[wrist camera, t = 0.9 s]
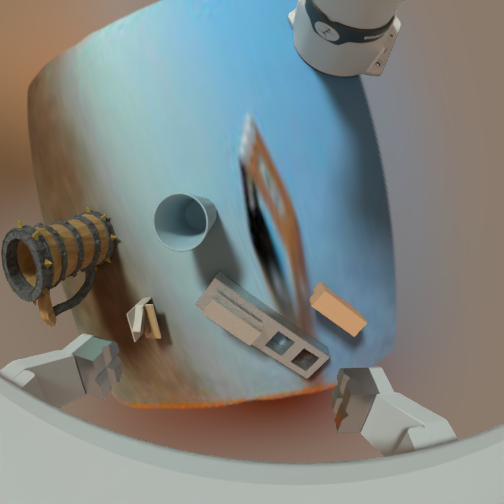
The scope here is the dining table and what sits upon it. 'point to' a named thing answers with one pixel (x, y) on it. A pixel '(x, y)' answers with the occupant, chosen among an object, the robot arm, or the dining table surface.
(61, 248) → the mug
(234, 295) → the rail
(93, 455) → the robot arm
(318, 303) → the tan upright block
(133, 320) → the architectural model
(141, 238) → the dining table surface
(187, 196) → the cup
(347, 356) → the dining table surface
